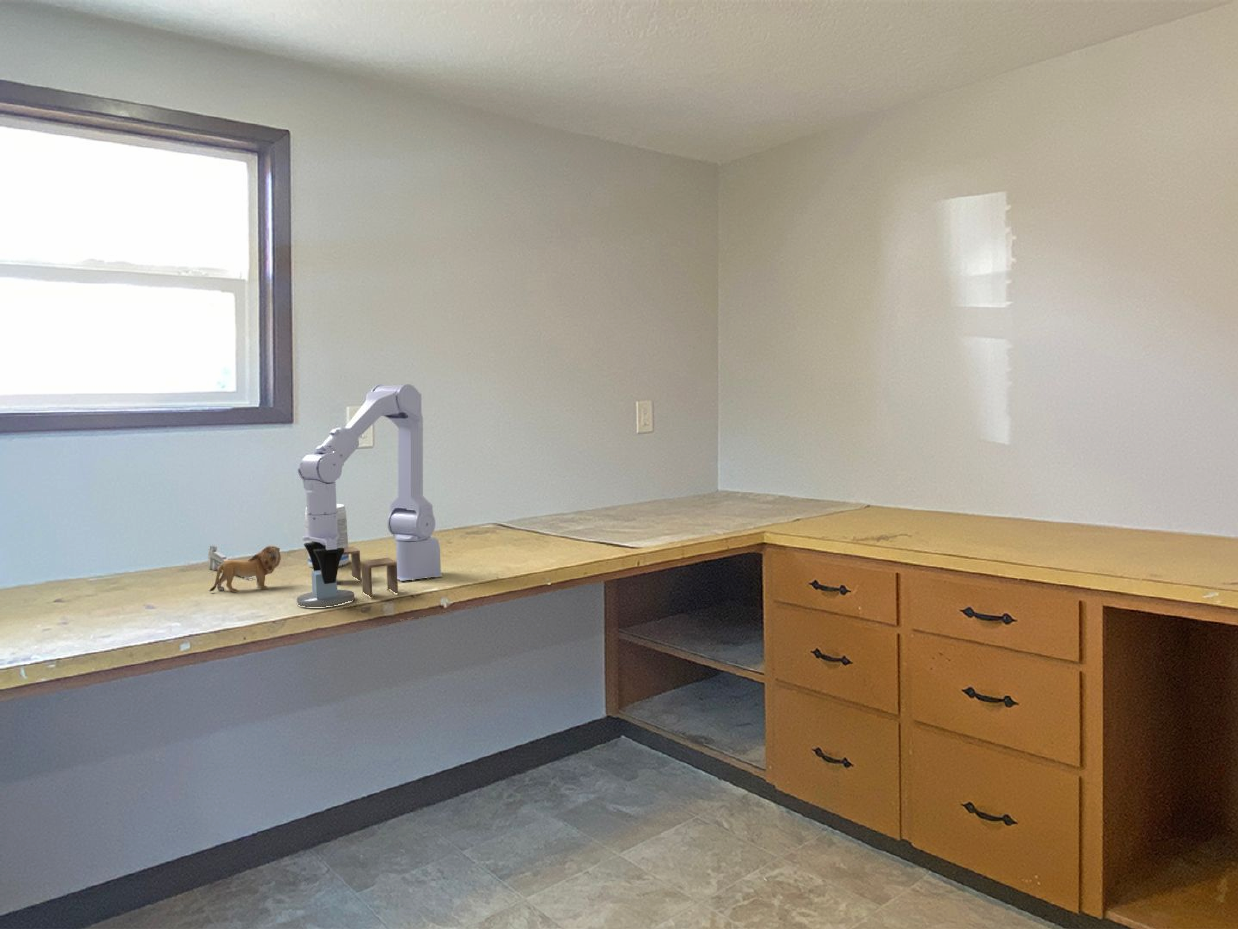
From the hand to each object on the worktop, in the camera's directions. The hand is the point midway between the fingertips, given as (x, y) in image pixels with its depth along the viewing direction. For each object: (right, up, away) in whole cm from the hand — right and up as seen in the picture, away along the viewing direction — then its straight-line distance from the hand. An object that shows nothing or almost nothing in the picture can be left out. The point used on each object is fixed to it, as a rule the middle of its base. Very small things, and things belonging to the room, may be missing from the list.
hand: (325, 579), depth 172 cm
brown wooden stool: (+9, -4, +6) cm, 12 cm away
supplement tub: (-12, -2, +37) cm, 39 cm away
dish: (0, -5, 0) cm, 5 cm away
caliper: (-32, -3, +28) cm, 43 cm away
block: (0, -3, 0) cm, 3 cm away
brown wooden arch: (-3, -3, +20) cm, 20 cm away
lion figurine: (-21, -4, +14) cm, 26 cm away
